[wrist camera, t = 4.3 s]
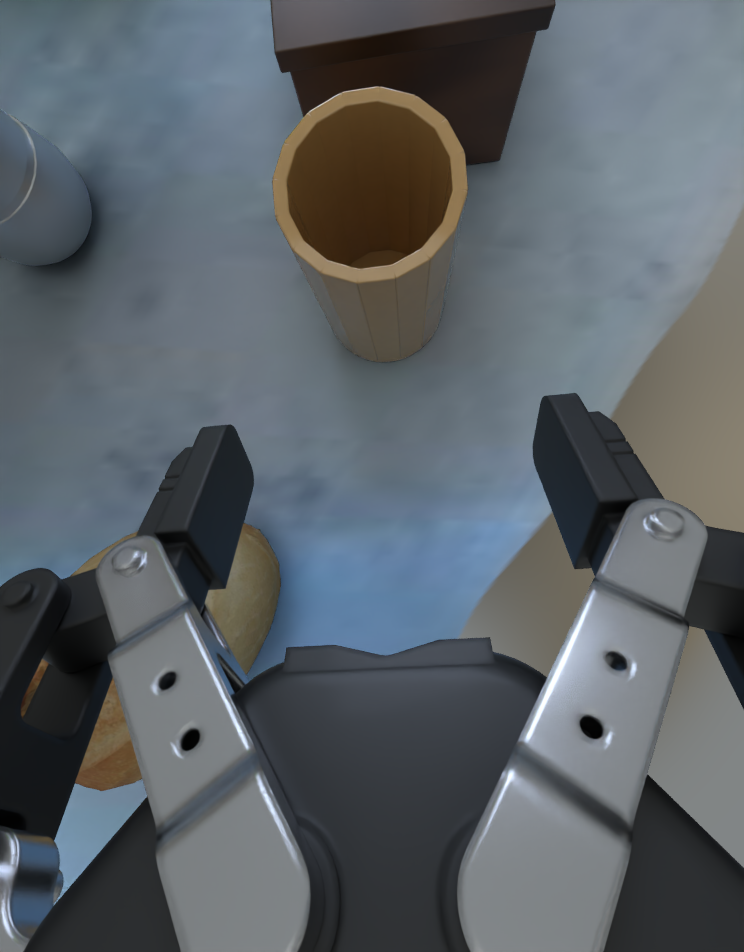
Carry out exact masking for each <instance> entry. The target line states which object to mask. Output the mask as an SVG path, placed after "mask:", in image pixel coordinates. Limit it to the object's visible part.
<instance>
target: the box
mask: <svg viewBox="0 0 744 952" xmlns="http://www.w3.org/2000/svg"><path fill="white" fill-rule="evenodd" d="M270 1H271V13H272V25H273V38H274V50H275V55H276V58H277V61H278V64H279V68H280V71H281V72H282V73H285V72H290V73H291V76H292V80H293V83H294V87H295V90H296V93H297V97H298V100H299V104H300V107H301V110H302V114H303V117H304V116H305V115H306V114H307V113H308V112H309V111H311V110H312V109H314V108H316V107H317V106H319V105H321V104H322V103H324V102H326V101H327V100H329V99H331V98H332V97H334V96H336V95H338V94H339V93H341V94H342V92H345V91H352V90H358V89H364V88H370V87H377V86H379V87H385V88H389V89H393V90H397V91H401V92H405V93H409V94H413V95H416V96H418V97H419V98H421V99H422V100H423V101H425V102H426V103H427V104H428V105H430V106H431V107H432V108H434V109H435V110H436V111H438V112H439V113H440V114H442V115H443V116H444V117H445V118H446V119H447V120H448V122H449V124H450V126H451V128H452V129H453V131H454V133H455V135H456V137H457V139H458V140H459V142H460V144H461V146H462V148H463V150H464V153H465V159H466V165H469V164H476V163H483V162H490V161H497V160H500V157H501V154H502V150H503V147H504V144H505V140H506V137H507V133H508V130H509V126H510V123H511V119H512V116H513V112H514V109H515V105H516V102H517V98H518V95H519V91H520V88H521V84H522V81H523V77H524V74H525V70H526V67H527V63H528V60H529V56H530V53H531V49H532V46H533V42H534V39H535V35H536V32H537V31H540V30H546V29H548V27H549V24H550V21H551V18H552V15H553V11H554V8H555V0H270Z"/></svg>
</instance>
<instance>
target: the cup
mask: <svg viewBox="0 0 744 952" xmlns="http://www.w3.org/2000/svg"><path fill="white" fill-rule="evenodd" d="M272 184H273V197H274V209H275V217H276V220H277V222H278V224H279V226H280V228H281V230H282V232H283V234H284V236H285V238H286V240H287V242H288V244H289V246H290V248H291V249H292V251H293V253H294V255H295V257H296V259H297V261H298V263H299V265H300V267H301V269H302V271H303V273H304V275H305V277H306V279H307V281H308V283H309V285H310V286H311V288H312V290H313V292H314V294H315V296H316V298H317V300H318V302H319V304H320V306H321V308H322V310H323V312H324V314H325V316H326V318H327V320H328V322H329V323H330V325H331V327H332V329H333V331H334V333H335V335H336V337H337V338H338V340H339V341H340V342H341V343H342V344H343V345H344V346H345V347H346V348H347V349H348V350H349V351H351V352H352V353H353V354H355V355H357V356H359V357H361V358H364V359H366V360H370V361H375V362H392V361H397V360H401V359H404V358H406V357H408V356H411V355H412V354H414V353H416V352H417V351H419V350H420V349H421V348H422V347H424V346H425V345H426V343H427V342H428V341H429V340H430V339H431V338H432V336H433V335H434V333H435V331H436V329H437V328H438V325H439V323H440V320H441V316H442V312H443V309H444V306H445V301H446V296H447V291H448V286H449V282H450V277H451V272H452V267H453V262H454V257H455V253H456V248H457V243H458V238H459V233H460V228H461V224H462V219H463V214H464V209H465V204H466V199H467V194H468V182H467V170H466V159H465V153H464V150H463V148H462V146H461V144H460V142H459V140H458V139H457V137H456V135H455V133H454V131H453V129H452V128H451V126H450V124H449V122H448V120H447V119H446V118H445V117H444V116H443V115H442V114H440V113H439V112H438V111H436V110H435V109H434V108H432V107H431V106H430V105H428V104H427V103H426V102H425V101H423V100H422V99H421V98H419V97H418V96H416V95H413V94H409V93H405V92H401V91H397V90H393V89H389V88H385V87H379V86H377V87H370V88H364V89H358V90H352V91H345V92H342V94H341V93H339V94H338V95H336V96H334V97H332V98H331V99H329V100H327V101H326V102H324V103H322V104H321V105H319V106H317V107H316V108H314V109H312V110H311V111H309V112H308V113H307V114H306V115H305V116H304V118H303V119H302V120H301V121H300V123H299V124H298V125H297V126H296V128H295V129H294V130H293V131H292V133H291V134H290V135H289V137H288V138H287V139H286V140H285V142H284V144H283V146H282V150H281V153H280V156H279V159H278V163H277V166H276V169H275V172H274V176H273V181H272Z"/></svg>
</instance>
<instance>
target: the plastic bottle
mask: <svg viewBox="0 0 744 952" xmlns="http://www.w3.org/2000/svg"><path fill="white" fill-rule="evenodd" d="M91 219H92V210H91V203H90V198H89V194H88V190H87V187H86V184H85V183H84V181H83V179H82V177H81V176H80V174H79V173H78V172H77V171H76V169H75V168H74V167H73V166H72V164H71V163H70V162H69V161H68V159H67V158H66V157H65V156H64V154H63V153H62V152H61V151H60V150H59V149H58V148H57V147H56V146H55V145H53V144H52V143H51V142H49V141H48V140H46V139H45V138H44V137H42V136H41V135H40V134H38V133H37V132H35V131H34V130H33V129H31V128H30V127H29V126H27V125H26V124H24V123H23V122H21V121H19V120H18V119H16V118H14V117H13V116H11V115H9V114H7V113H5V112H4V111H3V110H1V109H0V257H2V258H5V259H8V260H10V261H13V262H16V263H19V264H23V265H28V266H41V265H47V264H53V263H57V262H60V261H62V260H65V259H66V258H68V257H69V256H71V255H72V254H74V253H75V252H76V251H77V250H78V249H79V248H80V246H81V245H82V243H83V242H84V241H85V239H86V237H87V234H88V232H89V229H90V225H91Z"/></svg>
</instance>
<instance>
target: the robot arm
mask: <svg viewBox="0 0 744 952" xmlns="http://www.w3.org/2000/svg"><path fill="white" fill-rule="evenodd" d="M533 459H534V464H535V467H536V470H537V472H538V475H539V478H540V480H541V483H542V485H543V488H544V491H545V493H546V496H547V498H548V501H549V504H550V506H551V509H552V511H553V514H554V517H555V519H556V522H557V524H558V527H559V530H560V532H561V535H562V538H563V540H564V543H565V545H566V548H567V551H568V553H569V556H570V558H571V561H572V564H573V566H574V569H583V568H592V570H593V573H594V575H595V578H594V579H593V581H592V583H591V586H590V588H589V590H588V592H587V594H586V596H585V598H584V601H583V603H582V605H581V607H580V609H579V611H578V614H577V615H576V618H575V620H574V622H573V624H572V626H571V628H570V631H569V632H568V635H567V637H566V639H565V641H564V643H563V645H562V647H561V650H560V652H559V654H558V656H557V658H556V660H555V662H554V664H553V667H552V669H551V671H550V673H549V675H548V677H545V676H544V675H543V674H541V673H540V672H539V671H537V670H535V669H534V668H532V667H530V666H529V665H527V664H525V663H523V662H521V661H519V660H516V659H515V658H512V657H509V656H506V655H503V654H499V653H495V652H493V651H492V646H491V640H490V637H489V638H470V639H469V638H468V639H448V640H437V641H434V642H430V643H427V644H424V645H421V646H418V647H415V648H411V649H408V650H405V651H402V652H399V653H396V654H392V655H387V656H384V655H378V654H373V653H369V652H364V651H360V650H355V649H351V648H346V647H342V646H337V645H325V646H304V647H286V654H285V661H284V663H281V664H278V665H276V666H274V667H272V668H270V669H267V670H266V671H264V672H263V673H261V674H259V675H258V676H256V677H255V678H253V679H252V680H251V681H249V679H248V677H247V676H246V674H245V673H244V671H243V670H242V668H241V667H240V665H239V663H238V662H237V660H236V658H235V656H234V654H233V652H232V651H231V649H230V647H229V645H228V643H227V641H226V639H225V637H224V635H223V634H222V632H221V630H220V628H219V626H218V624H217V622H216V620H215V618H214V616H213V615H212V613H211V611H210V609H209V607H208V605H207V604H206V603H205V600H206V597H207V594H208V590H217V589H226V585H227V582H228V578H229V574H230V571H231V567H232V563H233V560H234V556H235V552H236V549H237V545H238V541H239V538H240V534H241V531H242V527H243V523H244V520H245V516H246V512H247V509H248V505H249V501H250V498H251V494H252V490H253V485H254V476H253V470H252V466H251V464H250V461H249V459H248V457H247V454H246V452H245V450H244V447H243V445H242V443H241V440H240V438H239V436H238V433H237V431H236V429H235V428H234V426H232V425H221V426H210V427H203V428H201V430H200V431H199V434H198V436H197V438H196V440H195V442H194V445H193V447H187V448H185V449H184V450H183V451H182V452H181V453H180V454H179V455H178V456H177V457H176V458H175V459H174V460H173V461H172V462H171V465H170V467H169V469H168V471H167V473H166V475H165V479H163V481H162V483H161V485H160V487H159V492H157V493H156V495H155V497H154V499H153V502H152V504H151V506H150V508H149V510H148V512H147V514H146V516H145V518H144V520H143V522H142V524H141V526H140V528H139V530H138V532H137V534H136V536H135V537H132V538H129V539H126V540H124V541H122V542H120V543H119V544H117V545H115V546H114V547H113V548H111V549H110V550H109V551H108V552H107V553H106V554H105V555H104V557H103V558H102V559H101V561H100V562H99V564H98V566H97V568H94V569H92V570H89V571H86V572H83V573H80V574H77V575H74V576H71V577H68V578H65V579H62V580H61V579H60V578H59V577H58V576H57V575H56V574H55V573H53V572H52V571H51V570H49V569H45V568H37V569H31V570H28V571H25V572H23V573H21V574H18V575H17V576H15V577H13V578H12V579H10V580H8V581H7V582H6V583H4V584H3V585H2V586H1V587H0V952H744V868H743V867H742V866H741V865H740V864H739V863H738V862H737V861H736V860H735V859H734V858H733V857H732V856H731V855H730V854H729V853H728V852H727V851H726V850H725V849H724V848H723V847H722V846H721V845H720V844H719V843H718V842H717V841H715V840H714V839H713V838H712V837H711V836H710V835H709V834H708V833H707V832H706V831H705V830H704V829H703V828H702V827H701V826H700V825H699V824H698V823H697V822H696V821H695V820H694V819H693V818H692V817H691V816H690V815H689V814H687V812H686V811H685V810H684V809H683V808H681V807H680V806H679V805H678V804H677V803H676V802H675V801H674V800H673V799H672V798H671V797H670V796H669V795H668V794H667V793H666V792H665V791H664V790H663V789H662V788H661V787H660V786H659V785H658V784H657V783H656V782H655V781H654V780H653V779H652V778H651V777H650V776H649V775H647V773H648V769H649V766H650V763H651V759H652V755H653V752H654V749H655V745H656V742H657V738H658V734H659V732H660V728H661V725H662V721H663V717H664V714H665V711H666V707H667V704H668V700H669V697H670V694H671V690H672V687H673V683H674V679H675V676H676V673H677V669H678V666H679V663H680V659H681V656H682V652H683V649H684V645H685V642H686V638H687V635H688V630H689V626H692V627H697V628H701V629H704V630H705V632H706V634H707V636H708V638H709V640H710V642H711V644H712V646H713V648H714V650H715V652H716V654H717V656H718V658H719V660H720V662H721V664H722V667H723V668H724V671H725V673H726V675H727V676H728V679H729V681H730V683H731V685H732V687H733V689H734V691H735V692H736V695H737V697H738V699H739V701H740V703H741V705H742V707H743V709H744V533H742V532H736V531H730V530H724V529H718V528H713V527H708V526H705V525H704V523H703V522H702V520H701V519H700V518H699V517H698V516H697V515H696V514H695V513H693V512H692V511H691V510H689V509H688V508H686V507H684V506H682V505H680V504H677V503H675V502H672V501H669V500H665V499H664V498H663V496H662V494H661V493H660V491H659V490H658V488H657V487H656V485H655V484H654V482H653V480H652V479H651V477H650V476H649V474H648V473H647V471H646V469H645V468H644V467H643V465H642V463H641V462H640V460H639V459H638V457H637V455H636V454H634V453H633V449H632V448H631V446H630V445H629V443H628V442H626V440H625V437H624V435H623V434H622V432H621V431H620V429H619V428H618V426H617V424H616V423H614V422H613V421H612V420H610V419H609V418H608V417H606V416H605V415H603V414H602V413H601V412H599V411H597V412H588V411H587V409H586V407H585V406H584V404H583V402H582V401H581V399H580V397H579V396H578V395H577V394H576V393H571V394H560V395H549V396H544V397H543V398H542V400H541V403H540V408H539V414H538V419H537V425H536V430H535V435H534V441H533ZM42 659H43V660H45V661H46V662H48V663H49V664H48V666H47V668H46V670H45V672H44V674H43V676H42V679H41V681H40V683H39V685H38V687H37V689H36V691H35V693H34V696H33V698H32V700H31V702H30V704H29V706H28V708H27V710H26V712H25V715H24V717H23V719H22V716H21V704H22V700H23V698H24V695H25V693H26V691H27V689H28V687H29V685H30V683H31V681H32V679H33V677H34V675H35V673H36V671H37V669H38V667H39V664H40V662H41V660H42ZM112 678H113V679H114V683H115V686H116V690H117V693H118V696H119V700H120V703H121V707H122V710H123V714H124V717H125V720H126V724H127V727H128V731H129V734H130V738H131V741H132V744H133V748H134V751H135V755H136V758H137V762H138V765H139V769H140V772H141V775H142V779H143V782H144V786H145V789H146V793H147V798H146V799H145V800H144V801H143V802H142V803H141V805H140V806H139V807H138V808H137V809H136V810H135V812H134V813H133V814H132V815H131V816H130V817H129V819H128V820H127V821H126V822H125V823H124V824H123V826H122V827H121V828H120V829H119V830H118V831H117V833H116V834H115V835H114V836H113V837H112V838H111V840H110V841H109V842H108V843H107V844H106V845H105V847H104V848H103V849H102V850H101V851H100V852H99V854H98V855H97V856H96V857H95V858H94V859H93V861H92V862H91V863H90V864H89V865H88V867H87V868H86V869H85V870H84V871H83V872H82V874H81V875H80V876H79V877H78V878H77V879H76V881H75V882H74V883H73V884H72V885H71V886H70V888H69V889H68V890H67V891H66V892H65V893H64V895H63V896H62V897H61V898H60V899H59V900H58V902H57V903H56V904H55V905H54V906H53V904H54V903H55V901H56V900H57V898H58V897H59V895H60V893H61V890H62V887H63V874H62V872H61V871H60V870H59V865H60V858H59V851H58V848H57V846H56V843H55V842H54V840H55V837H56V834H57V831H58V828H59V826H60V823H61V820H62V817H63V815H64V812H65V809H66V806H67V803H68V801H69V798H70V795H71V792H72V789H73V787H74V784H75V781H76V778H77V776H78V773H79V770H80V767H81V764H82V762H83V759H84V756H85V753H86V750H87V748H88V745H89V742H90V739H91V737H92V734H93V731H94V728H95V725H96V723H97V720H98V717H99V714H100V712H101V709H102V706H103V703H104V700H105V698H106V695H107V692H108V689H109V686H110V684H111V681H112Z"/></svg>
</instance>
